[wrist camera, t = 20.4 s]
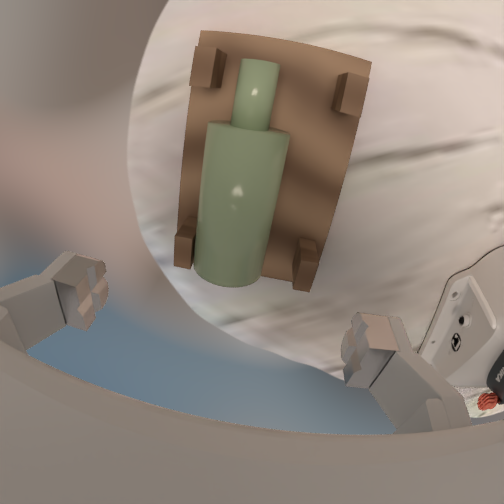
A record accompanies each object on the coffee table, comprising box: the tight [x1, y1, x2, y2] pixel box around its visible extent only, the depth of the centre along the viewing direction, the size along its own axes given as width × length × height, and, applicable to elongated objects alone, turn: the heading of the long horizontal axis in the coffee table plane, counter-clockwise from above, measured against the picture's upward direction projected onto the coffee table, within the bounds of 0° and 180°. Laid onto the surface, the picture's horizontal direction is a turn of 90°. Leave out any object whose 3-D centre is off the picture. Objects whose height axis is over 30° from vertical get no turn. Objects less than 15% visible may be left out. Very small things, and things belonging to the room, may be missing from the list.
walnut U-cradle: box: [174, 30, 372, 292], centre depth 24 cm, size 22×14×5 cm, turn 170°
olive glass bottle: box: [194, 59, 290, 287], centre depth 22 cm, size 6×6×17 cm
